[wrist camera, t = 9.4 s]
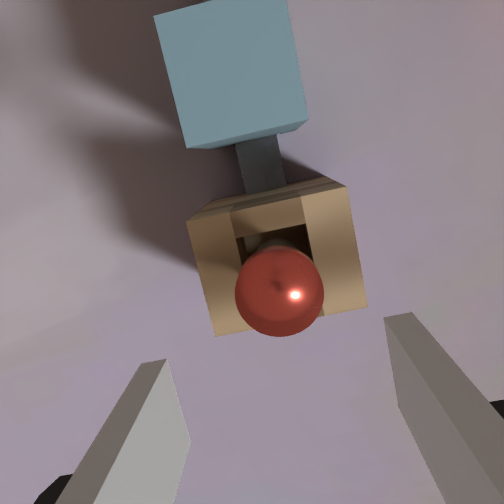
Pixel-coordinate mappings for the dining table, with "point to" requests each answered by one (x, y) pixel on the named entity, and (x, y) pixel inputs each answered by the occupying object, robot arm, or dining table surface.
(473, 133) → the dining table surface
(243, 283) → the plunger
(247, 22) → the block
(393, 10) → the dining table surface
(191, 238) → the housing
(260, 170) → the rail
